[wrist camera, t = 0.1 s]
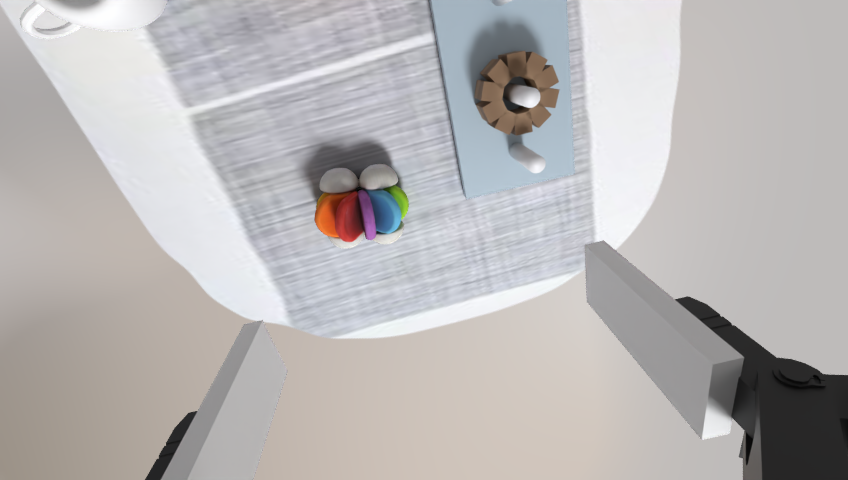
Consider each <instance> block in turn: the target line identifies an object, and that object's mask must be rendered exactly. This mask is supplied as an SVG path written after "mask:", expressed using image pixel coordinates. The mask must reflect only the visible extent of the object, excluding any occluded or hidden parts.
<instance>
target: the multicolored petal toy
mask: <svg viewBox="0 0 848 480" xmlns="http://www.w3.org/2000/svg"><path fill="white" fill-rule="evenodd" d="M397 182H398V177H397V175H396V173H395V171H394V170H393V169H392V168H391V167H389V166H387V165H385V164H374V165H370V166H368V167H367V168H366V169H364V171H363V172H362V173H361V175H360V179H359V180H358V179H357V177H356V175H355V174H354V173H353V172H352V171H350V170H349V169H346V168H334V169H330V170H328V171H327V172H326V173H325V174H324V175H323V176H322V178H321V180H320V190H321V191H323V192H325V193H323V194H322V195H321V196H320V198H319V199H318V202H317V205H316V212H315V223H316V225H317V227H318V228H319V230H320V231H321V232H323V233H324V234H325V235H328V237H329V239H330V241H331V242H332V243H333V244H334V245H335V246H337V247H339V248H344V249H348V248H353V247H355V246H357V245H358V244H359V243H360V242H361V241H362V239H363V238H364V235H365V237H366V239H368V240H374V241H375V242H377V243H380V244H391V243H393V242H395V241H397V240H398V239H399V238H400V237H401V235H402V233H403V230H404V223H403V222H402V221H401V220H402V219H403V218H404V217H405V215H406V213H407V211H408V207H409V203H408V198H407V196H406V194H405V192H404V191H403V190H402V189H400V188H399V187H397V186H395V184H396V183H397ZM358 186H360V187H362V188H363V190H359V191H358V192H357V190H356V188H357V187H358Z"/></svg>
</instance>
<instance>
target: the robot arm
mask: <svg viewBox="0 0 848 480" xmlns="http://www.w3.org/2000/svg"><path fill="white" fill-rule="evenodd" d="M585 266H586V290H587V291H586V293H587V302H588V303H589V305H590V306H591V307H592V308H593V310H594V311H595V312H596V313H597V314H598V316H599V317H600V318H601V319H602V320H603V322H604V323H605V324H606V325H607V326H608V328H609V329H610V330H611V331H612V333H613V334H614V335H615V336H616V337H617V338H618V340H619V341H620V342H621V343H622V345H623V346H624V347H625V348H626V349H627V351H628V352H629V353H630V354H631V355H632V356H633V358H634V359H635V360H636V361H637V363H638V364H639V365H640V366H641V367H642V369H643V370H644V371H645V372H646V373H647V375H648V376H649V377H650V378H651V379H652V381H653V382H654V383H655V384H656V385H657V387H658V388H659V389H660V390H661V391H662V392H663V394H664V395H665V396H666V398H667V399H668V400H669V401H670V402H671V404H672V405H673V406H674V407H675V408H676V410H677V411H678V412H679V413H680V414H681V416H682V417H683V418H684V419H685V420H686V421H687V423H688V424H689V425H690V426H691V428H692V429H693V430H694V431H695V432H696V434H697V435H698V436H699V437H700V438H701V440H703V439H708V438H712V437H716V436H721V435H725V434H729V433H730V428H731V423H732V418H733V419H734V420H735V421H736V422H737V423H738V424H739V425H740V426H741V427H742V428H743V429H744V430H745V431H744V436H743V441H742V445H741V450H740V454H739V457H740V458H743V480H848V375H826V374H822V373H821V372H820V371H818V370H817V369H815V368H813V367H811V366H809V365H807V364H805V363H802V362H799V361H795V360H792V359H784V358H776V357H775V356H774V355H772V354H771V353H770V352H768V351H767V350H766V349H764V348H763V347H762V346H761V345H759V344H758V343H757V342H755V341H754V340H753V339H751V338H750V337H749V336H747V335H746V334H745V333H743V332H742V331H741V330H740V329H738V328H737V327H736V326H732V324H731V323H730V322H729V321H728V320H726V319H725V318H724V317H721V316H720V314H719V313H717V312H716V311H714V310H713V309H712V308H711V307H709V306H708V305H707V304H705V303H702V302H700V301H698V300H695V299H693V298H691V297H684V298H679V299H673V298H672V297H671V296H670V295H668V294H667V293H666V292H665V291H664V290H662V289H661V288H660V287H659V286H658V285H656V284H655V283H654V282H653V281H652V280H651V279H649V278H648V277H647V276H646V275H644V274H643V273H642V272H641V271H640V270H638V269H637V268H636V267H635V266H634V265H632V264H631V263H630V262H629V261H628V260H626V259H625V258H624V257H623V256H622V255H620V254H619V253H618V252H617V251H616V250H614V249H613V248H612V247H611V246H610V245H608V244H607V243H606V242H605V241H600V242H596V243H591V244H587V245H585ZM286 375H287V369H286V367H285V364H284V362H283V360H282V358H281V357H280V354H279V352H278V350H277V348H276V346H275V344H274V343H273V340H272V338H271V336H270V334H269V332H268V330H267V328H266V326H265V324H264V322H263V320H261V321H257V322H253V323H249V324H244V326H243V327H242V329H241V331H240V333H239V335H238V337H237V339H236V340H235V342H234V344H233V346H232V348H231V350H230V352H229V353H228V355H227V357H226V359H225V361H224V363H223V365H222V367H221V369H220V370H219V372H218V374H217V376H216V378H215V380H214V382H213V383H212V385H211V387H210V389H209V391H208V393H207V395H206V397H205V398H204V400H203V402H202V404H201V406H200V408H199V409H198V411H195V412H191V413H188V414H187V415H186V416H185V417H184V419H183V420H182V421H181V422H180V423H179V424H178V425H177V426H176V427H175V429H174V430H173V432H172V434H171V436H170V437H169V439H168V441H167V442H166V446H164V448H163V450H162V451H161V453H160V455H159V459H157V460H156V462H155V463H154V465H153V467H152V469H151V470H150V472H149V474H148V476H147V477H146V479H145V480H253V479H254V476H255V473H256V469H257V466H258V463H259V460H260V457H261V453H262V451H263V447H264V444H265V441H266V438H267V434H268V432H269V428H270V425H271V422H272V419H273V416H274V413H275V409H276V406H277V403H278V400H279V397H280V394H281V390H282V387H283V384H284V381H285V378H286Z"/></svg>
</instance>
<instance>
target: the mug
mask: <svg viewBox="0 0 848 480" xmlns="http://www.w3.org/2000/svg"><path fill="white" fill-rule="evenodd" d="M167 1H168V0H34V2H33V3H32V4H31V5H30V6H29V7H27V8H26V9H25V10H24V12H23V14H22V15H21V17H20V25H21V27H22V29H23V30H24V31H25V32H26V33H27V34H29V35H31V36H34V37H36V38H40V39H54V38H60V37H63V36H66V35H69V34H71V33H73V32H75V31H76V30H78V29H79V28H80V27H81V26H82V27H86V28H90V29H94V30H100V31H112V32H120V31H131V30H135V29H138V28H142V27H144V26H146V25H148V24H150V23H152V22H153V21H155V20H156V19H157V18H158V17H159V16H160V15H161V14H162V12H163V11H164V9H165V7H166V5H167ZM45 10H47V11H49V12H50V13H52V14H53V15H55V16H57V17H59V18H61V19H62V20H65V21H68V23H67V24H65V25H63V26H61V27H58V28H53V29H38V28H35V27H34V26H33V24H34V22H35V20H36V18H37V17H38V16H39V15H41V14H42V13H43V12H44V11H45Z"/></svg>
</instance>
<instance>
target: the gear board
mask: <svg viewBox="0 0 848 480" xmlns="http://www.w3.org/2000/svg"><path fill="white" fill-rule="evenodd" d="M429 3H430V8H431V14H432V19H433V25H434V30H435V36H436V42H437V47H438V53H439V58H440V64H441V69H442V75H443V80H444V86H445V92H446V97H447V103H448V108H449V114H450V119H451V125H452V130H453V136H454V142H455V147H456V153H457V158H458V164H459V169H460V175H461V181H462V186H463V192H464V196H465V197H466V199H470V198H475V197H479V196H483V195H487V194H492V193H496V192H500V191H504V190H508V189H513V188H517V187H521V186H525V185H530V184H534V183H538V182H542V181H547V180H551V179H555V178H559V177H563V176H568V175H572V174H575V167H574V146H573V124H572V102H571V81H570V59H569V37H568V16H567V0H429ZM514 51H525V52H534V53H536V54H538V55H540V56H542V57H544V58H546V59H547V60H548V61H547V63H546V64H545V65H553V67H554V70H555V73H556V75H557V78H558V80H559V82H558V83H557V84H555V85H553V86H552V87H550V88H554V89H560V90H559V94H558V99H557V103H556V107H555V108H550V107H545V108H546V109H547V110H548V111H549V112H550V113H551V116H550V117H549V118H548V119H547V120H546V121H545V122H544V123H543V124H542V125H541V126H540V127H539V128H537V127H535V126H533V125H532V130H533V132H530V133H526V134H521V135H517V136H516V135H514V134H512V133H510V135H508V134H506V133H504V132H502V131H499V130H497V129H495V128H493V127H492V126H490V125H489V124H487V122H486V121H485V120H483V119H482V117H481V115H480V113H479V111H478V109H477V107H476V105H475V104H477V103H479V102H480V101H481V100H479V99H476V98H474V96H475V89H476V82H477V80H483V81H487V80H486V79H485V78H484V77H483V76H482V75H481V74H480V72H481V71H482V70H483V69H484V68H485V67H486V65H487V64H488V63H489V62H490V61H491V60H492V59H498V55H501V54H506V53H510V52H514ZM502 100H503V102H504V105H505V107H506V109H507V110H512V109H516V108H518V107H519V106H520V105H521V106H524V107H527V108H532V107H535V106H536V105H537V104H538V103H539V101H540V92H539V91H538V90H537V89H536V88H533V87H528V86H527V85H526V83H525V81H524V78H522V77H520V76H517V77H513V78H512V79H511V80H510V81H509V82H508V84H507V85H506V86H505V87H504V92H503V97H502Z"/></svg>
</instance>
